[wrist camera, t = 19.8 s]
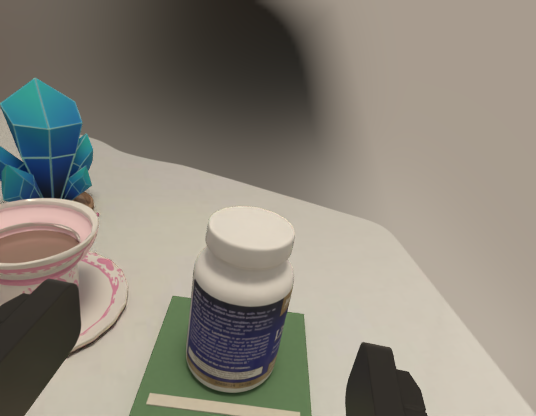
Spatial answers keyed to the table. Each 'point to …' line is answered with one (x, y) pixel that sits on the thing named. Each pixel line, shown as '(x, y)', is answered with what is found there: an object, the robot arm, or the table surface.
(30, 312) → the robot arm
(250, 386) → the pill bottle
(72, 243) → the teacup
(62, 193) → the gemstone
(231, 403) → the medicine mat
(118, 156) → the table surface
